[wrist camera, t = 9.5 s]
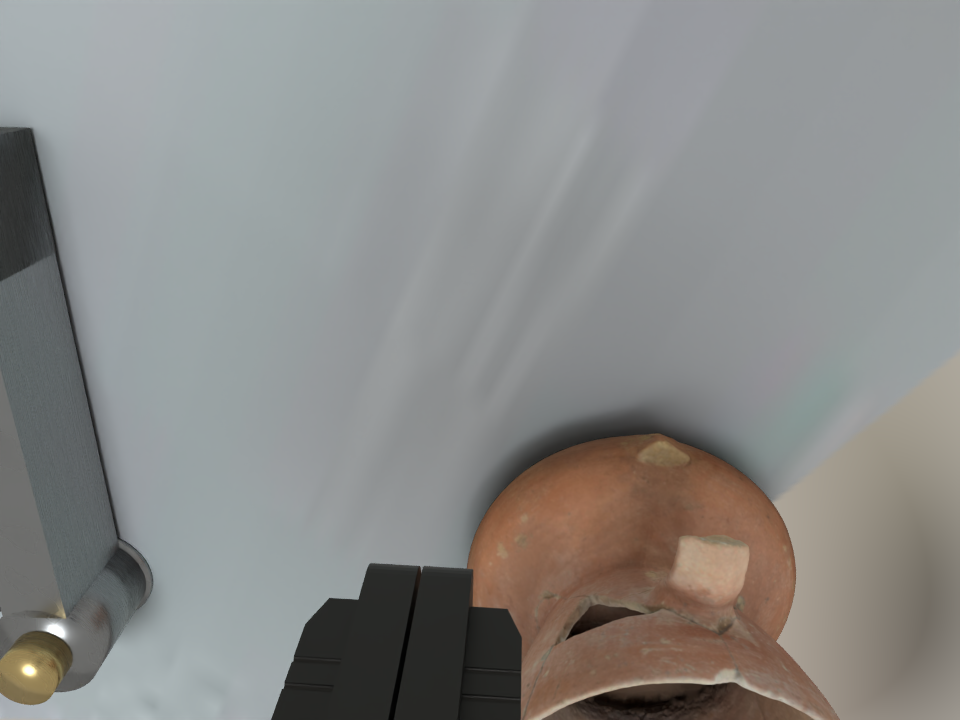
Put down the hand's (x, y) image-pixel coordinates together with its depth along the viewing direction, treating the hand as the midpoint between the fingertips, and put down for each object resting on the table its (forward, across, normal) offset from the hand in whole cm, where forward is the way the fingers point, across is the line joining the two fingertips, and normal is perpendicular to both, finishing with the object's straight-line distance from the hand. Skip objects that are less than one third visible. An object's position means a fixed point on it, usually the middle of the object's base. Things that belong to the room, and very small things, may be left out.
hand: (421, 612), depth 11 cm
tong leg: (+21, +19, +9) cm, 30 cm away
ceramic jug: (+22, -7, +16) cm, 28 cm away
